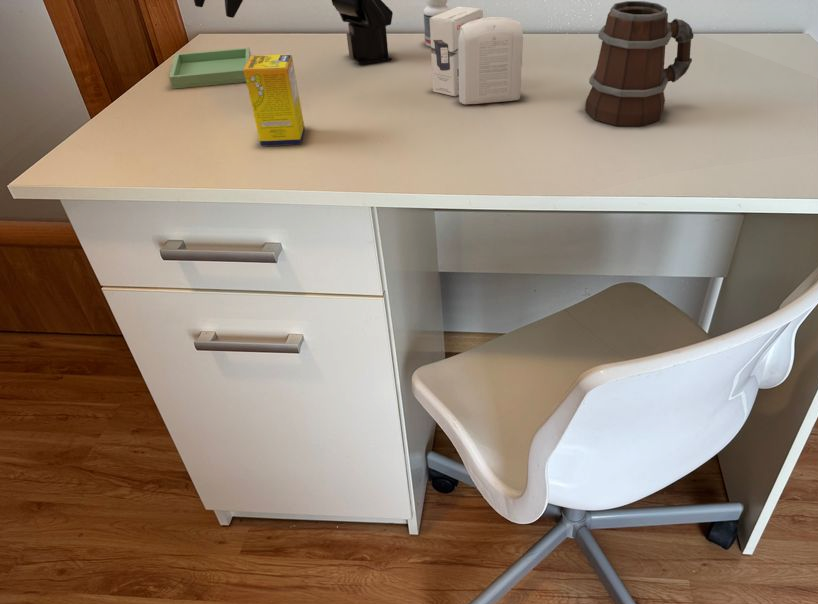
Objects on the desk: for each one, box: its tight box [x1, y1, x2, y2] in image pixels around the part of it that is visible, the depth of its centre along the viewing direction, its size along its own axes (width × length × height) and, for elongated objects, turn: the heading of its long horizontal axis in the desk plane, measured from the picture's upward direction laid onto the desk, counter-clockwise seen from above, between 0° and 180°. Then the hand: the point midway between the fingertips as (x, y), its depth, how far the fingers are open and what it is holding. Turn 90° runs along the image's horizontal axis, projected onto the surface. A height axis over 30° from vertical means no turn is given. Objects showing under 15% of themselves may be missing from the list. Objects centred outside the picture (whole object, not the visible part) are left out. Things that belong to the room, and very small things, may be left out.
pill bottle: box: [423, 0, 451, 48], centre depth 130 cm, size 5×5×9 cm
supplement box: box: [243, 53, 306, 147], centre depth 96 cm, size 6×6×11 cm
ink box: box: [430, 5, 484, 97], centre depth 110 cm, size 8×5×12 cm, turn 146°
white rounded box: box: [458, 16, 524, 105], centre depth 105 cm, size 10×4×12 cm, turn 103°
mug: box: [584, 0, 694, 127], centre depth 100 cm, size 16×12×15 cm
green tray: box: [168, 47, 252, 90], centre depth 121 cm, size 13×13×2 cm
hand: (214, 11), depth 102 cm, fingers open, 9 cm apart
